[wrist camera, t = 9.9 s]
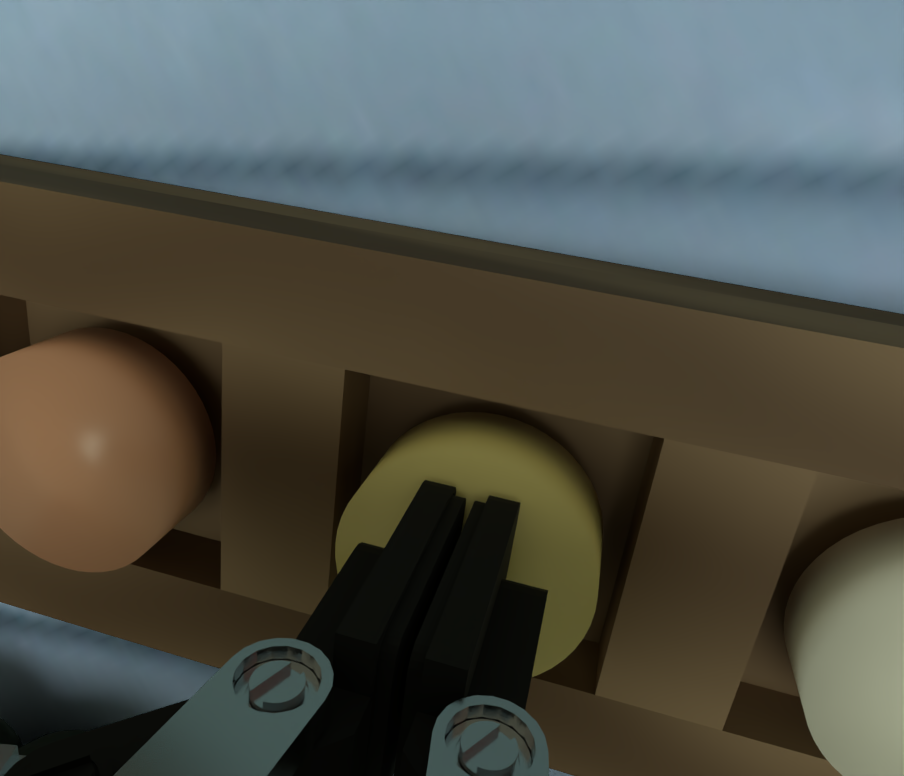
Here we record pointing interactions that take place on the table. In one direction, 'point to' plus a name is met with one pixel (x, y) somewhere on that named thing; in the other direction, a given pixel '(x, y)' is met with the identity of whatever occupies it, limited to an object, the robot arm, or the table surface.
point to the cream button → (853, 650)
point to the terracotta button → (98, 448)
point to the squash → (6, 735)
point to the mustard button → (505, 476)
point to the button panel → (489, 391)
